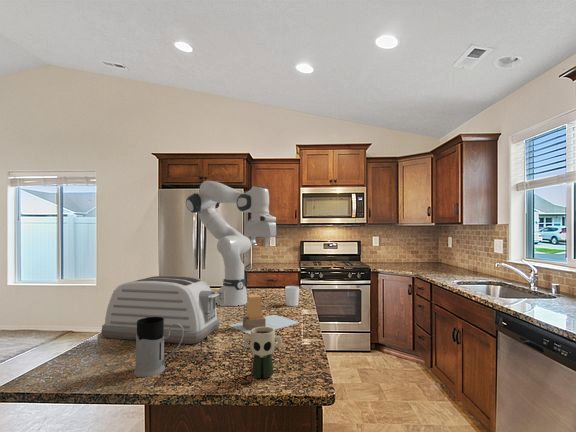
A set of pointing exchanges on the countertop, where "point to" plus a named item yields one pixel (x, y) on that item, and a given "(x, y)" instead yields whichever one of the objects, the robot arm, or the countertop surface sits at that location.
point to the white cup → (292, 295)
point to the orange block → (253, 306)
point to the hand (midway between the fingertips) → (260, 246)
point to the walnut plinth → (253, 322)
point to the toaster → (163, 308)
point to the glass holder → (151, 346)
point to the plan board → (269, 323)
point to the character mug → (262, 350)
